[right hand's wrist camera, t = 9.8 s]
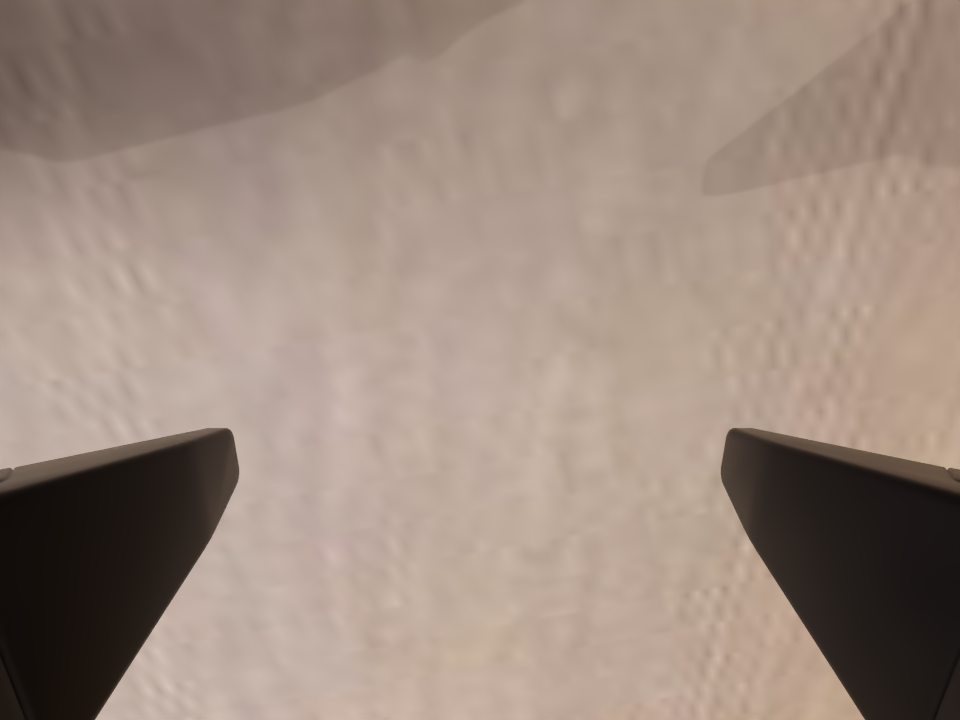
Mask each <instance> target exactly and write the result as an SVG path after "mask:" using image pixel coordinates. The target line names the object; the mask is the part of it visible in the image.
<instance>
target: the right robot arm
mask: <svg viewBox="0 0 960 720" xmlns="http://www.w3.org/2000/svg"><path fill="white" fill-rule="evenodd" d="M238 478H239V465H238V459H237V453H236V448H235V442H234V436H233V434H232V432H231V430H229V429H227V428H207V429H202V430H197V431H192V432H187V433H182V434H177V435H172V436H167V437H162V438H158V439H153V440H148V441H143V442H138V443H133V444H128V445H123V446H118V447H113V448H108V449H104V450H99V451H94V452H89V453H84V454H79V455H74V456H69V457H64V458H59V459H55V460H50V461H45V462H40V463H35V464H30V465H25V466H20V467H16V468H14V470H12V469H11V468H6V469H1V470H0V720H95V719H96V717H97V716H98V714H99V713H100V711H101V709H102V708H103V706H104V705H105V703H106V702H107V700H108V699H109V697H110V695H111V694H112V692H113V691H114V689H115V688H116V686H117V685H118V683H119V681H120V680H121V678H122V677H123V675H124V674H125V672H126V671H127V669H128V667H129V666H130V664H131V663H132V661H133V660H134V658H135V657H136V655H137V653H138V652H139V650H140V649H141V647H142V646H143V644H144V643H145V641H146V639H147V638H148V636H149V635H150V633H151V632H152V630H153V629H154V627H155V625H156V624H157V622H158V621H159V619H160V618H161V616H162V615H163V613H164V611H165V610H166V608H167V607H168V605H169V604H170V602H171V600H172V599H173V597H174V596H175V594H176V593H177V591H178V590H179V588H180V586H181V585H182V583H183V582H184V580H185V579H186V577H187V576H188V574H189V572H190V571H191V569H192V568H193V566H194V565H195V563H196V562H197V560H198V558H199V557H200V555H201V554H202V552H203V551H204V549H205V547H206V546H207V544H208V542H209V541H210V539H211V537H212V535H213V533H214V531H215V529H216V527H217V525H218V523H219V521H220V519H221V517H222V515H223V512H224V510H225V508H226V506H227V504H228V502H229V500H230V498H231V496H232V493H233V491H234V489H235V487H236V485H237V482H238ZM721 478H722V482H723V485H724V487H725V489H726V491H727V493H728V496H729V498H730V500H731V502H732V504H733V506H734V508H735V510H736V512H737V515H738V517H739V519H740V521H741V523H742V525H743V527H744V529H745V531H746V533H747V535H748V537H749V539H750V541H751V542H752V544H753V546H754V547H755V549H756V551H757V552H758V554H759V555H760V557H761V558H762V560H763V562H764V563H765V565H766V566H767V568H768V569H769V571H770V572H771V574H772V576H773V577H774V579H775V580H776V582H777V583H778V585H779V586H780V588H781V590H782V591H783V593H784V594H785V596H786V597H787V599H788V600H789V602H790V604H791V605H792V607H793V608H794V610H795V611H796V613H797V614H798V616H799V618H800V619H801V621H802V622H803V624H804V625H805V627H806V628H807V630H808V632H809V633H810V635H811V636H812V638H813V639H814V641H815V642H816V644H817V646H818V647H819V649H820V650H821V652H822V653H823V655H824V656H825V658H826V660H827V661H828V663H829V664H830V666H831V667H832V669H833V670H834V672H835V674H836V675H837V677H838V678H839V680H840V681H841V683H842V684H843V686H844V688H845V689H846V691H847V692H848V694H849V695H850V697H851V698H852V700H853V702H854V703H855V705H856V706H857V708H858V709H859V711H860V713H861V714H862V716H863V717H864V719H865V720H960V470H959V469H954V468H949V469H948V470H946V468H944V467H940V466H935V465H930V464H925V463H921V462H916V461H911V460H906V459H901V458H896V457H891V456H886V455H881V454H876V453H871V452H866V451H862V450H857V449H852V448H847V447H842V446H837V445H832V444H827V443H822V442H817V441H812V440H808V439H803V438H798V437H793V436H788V435H783V434H778V433H773V432H768V431H763V430H758V429H753V428H733V429H731V430H729V432H728V434H727V436H726V442H725V448H724V453H723V459H722V465H721Z"/></svg>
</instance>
